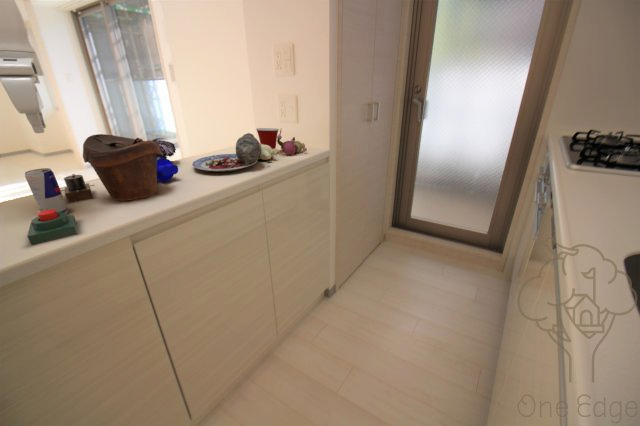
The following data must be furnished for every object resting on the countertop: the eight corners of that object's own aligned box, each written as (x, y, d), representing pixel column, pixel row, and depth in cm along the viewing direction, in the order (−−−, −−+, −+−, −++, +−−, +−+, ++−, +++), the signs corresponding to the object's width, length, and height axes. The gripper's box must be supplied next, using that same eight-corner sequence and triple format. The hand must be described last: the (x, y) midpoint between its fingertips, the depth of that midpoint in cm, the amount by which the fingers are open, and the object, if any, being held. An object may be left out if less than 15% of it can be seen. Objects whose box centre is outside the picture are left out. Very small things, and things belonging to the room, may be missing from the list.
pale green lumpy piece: (283, 160, 131) (261, 157, 139) (284, 145, 129) (261, 142, 138) (261, 161, 120) (238, 158, 129) (261, 144, 119) (238, 142, 127)
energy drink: (73, 212, 79) (56, 169, 74) (49, 220, 74) (30, 175, 69) (62, 208, 81) (45, 167, 76) (38, 216, 76) (19, 172, 71)
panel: (62, 205, 83) (58, 194, 82) (62, 196, 89) (59, 186, 88) (98, 198, 88) (95, 188, 87) (96, 190, 94) (93, 181, 93)
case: (171, 197, 88) (158, 137, 80) (92, 209, 80) (68, 144, 72) (170, 180, 102) (158, 128, 95) (102, 189, 94) (84, 133, 87)
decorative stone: (237, 124, 123) (261, 125, 125) (239, 146, 129) (262, 147, 131) (233, 143, 106) (261, 144, 108) (235, 167, 111) (262, 167, 113)
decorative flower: (126, 157, 112) (143, 140, 124) (148, 180, 119) (162, 162, 131) (156, 143, 109) (170, 127, 121) (177, 168, 116) (188, 150, 128)
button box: (31, 245, 63) (23, 228, 61) (34, 231, 69) (27, 216, 67) (77, 233, 68) (71, 218, 66) (76, 222, 73) (70, 207, 72)
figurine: (310, 125, 140) (294, 127, 127) (311, 153, 144) (295, 157, 132) (291, 125, 144) (274, 126, 132) (292, 151, 149) (275, 155, 136)
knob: (85, 188, 87) (81, 176, 85) (67, 191, 85) (62, 179, 83) (86, 184, 90) (82, 172, 89) (68, 187, 88) (64, 175, 86)
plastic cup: (284, 151, 143) (283, 127, 138) (272, 156, 134) (271, 130, 129) (266, 150, 147) (264, 125, 142) (253, 154, 138) (251, 128, 133)
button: (40, 223, 65) (36, 216, 64) (40, 218, 67) (37, 211, 66) (58, 219, 66) (55, 212, 66) (58, 214, 69) (55, 208, 68)
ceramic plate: (270, 162, 125) (269, 155, 124) (227, 179, 104) (226, 171, 103) (225, 156, 136) (224, 149, 134) (178, 170, 115) (177, 162, 114)
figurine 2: (296, 148, 148) (295, 136, 145) (290, 153, 142) (288, 141, 139) (282, 148, 151) (281, 136, 148) (276, 153, 144) (274, 140, 141)
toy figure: (153, 157, 94) (127, 153, 101) (160, 185, 97) (134, 180, 104) (178, 153, 101) (152, 150, 108) (183, 179, 105) (158, 175, 112)
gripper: (2, 68, 70) (27, 127, 76) (-13, 65, 56) (19, 137, 62) (36, 69, 74) (57, 124, 80) (31, 65, 60) (57, 134, 65)
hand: (41, 130), depth 71 cm, fingers open, 8 cm apart
